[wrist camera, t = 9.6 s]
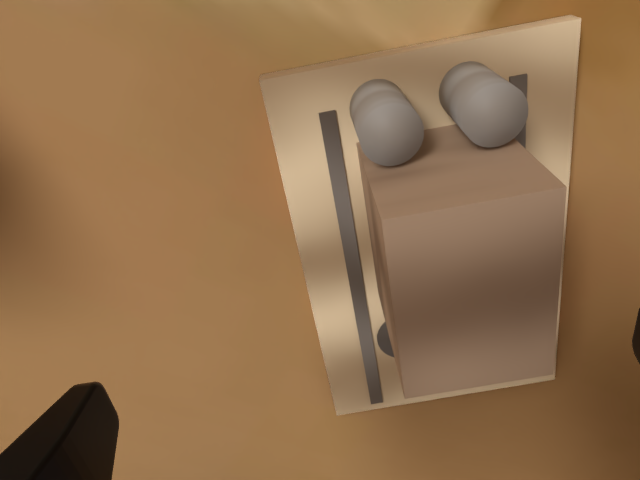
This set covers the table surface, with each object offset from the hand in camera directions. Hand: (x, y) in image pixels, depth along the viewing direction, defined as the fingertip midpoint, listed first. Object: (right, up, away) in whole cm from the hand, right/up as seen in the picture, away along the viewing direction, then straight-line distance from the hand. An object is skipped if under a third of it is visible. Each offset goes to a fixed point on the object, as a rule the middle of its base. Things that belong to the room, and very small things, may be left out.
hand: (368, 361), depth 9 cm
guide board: (+4, +2, +14) cm, 15 cm away
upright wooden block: (+4, +3, +12) cm, 13 cm away
